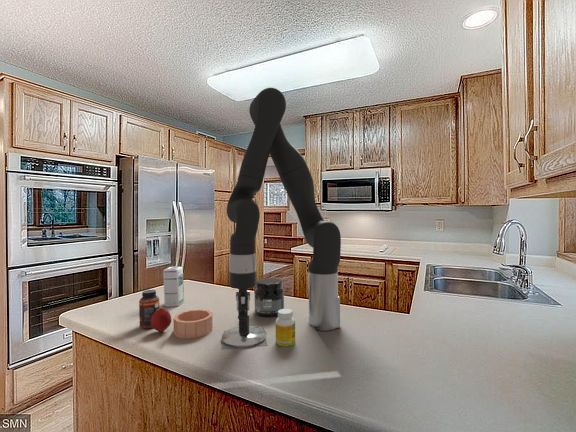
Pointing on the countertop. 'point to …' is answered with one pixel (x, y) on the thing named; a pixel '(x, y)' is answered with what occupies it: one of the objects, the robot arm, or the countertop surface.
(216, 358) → the countertop surface
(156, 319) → the onion
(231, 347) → the mat
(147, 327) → the supplement bottle
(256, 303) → the supplement container
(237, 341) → the lid
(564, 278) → the countertop surface
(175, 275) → the syrup box
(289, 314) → the supplement bottle
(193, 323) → the bowl
